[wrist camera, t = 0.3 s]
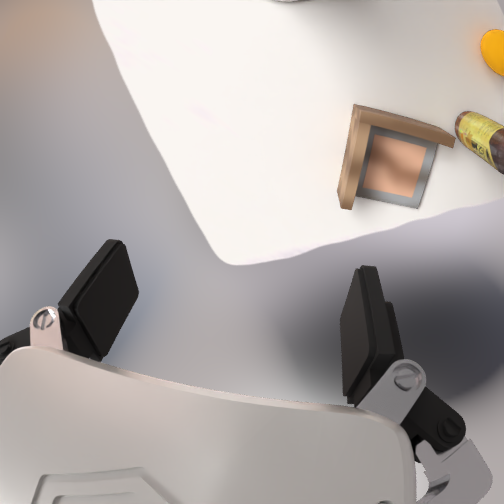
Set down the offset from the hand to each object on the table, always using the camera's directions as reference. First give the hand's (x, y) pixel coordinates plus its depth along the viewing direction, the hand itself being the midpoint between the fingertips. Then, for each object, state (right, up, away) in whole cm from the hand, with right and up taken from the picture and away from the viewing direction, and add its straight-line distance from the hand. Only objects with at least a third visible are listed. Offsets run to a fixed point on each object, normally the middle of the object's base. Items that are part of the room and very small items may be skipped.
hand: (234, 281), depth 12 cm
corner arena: (+22, +16, +30) cm, 41 cm away
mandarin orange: (+39, +33, +15) cm, 53 cm away
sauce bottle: (+36, +21, +24) cm, 48 cm away
